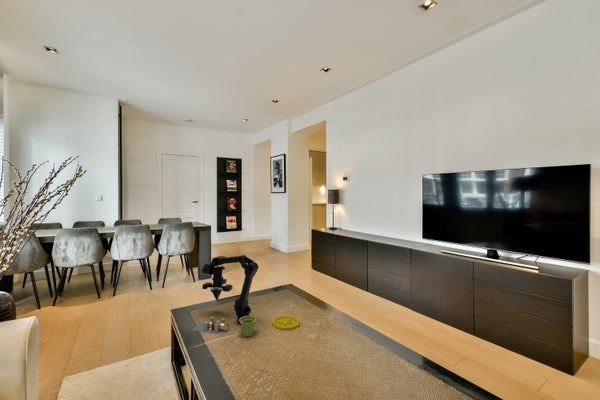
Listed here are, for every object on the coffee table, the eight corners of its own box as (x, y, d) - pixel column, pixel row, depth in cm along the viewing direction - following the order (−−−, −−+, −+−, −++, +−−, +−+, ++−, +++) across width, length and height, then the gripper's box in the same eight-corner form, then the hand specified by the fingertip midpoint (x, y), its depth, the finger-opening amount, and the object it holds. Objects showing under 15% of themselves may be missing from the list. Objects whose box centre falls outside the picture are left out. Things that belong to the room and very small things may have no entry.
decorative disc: (300, 319, 175) (300, 316, 175) (297, 332, 157) (297, 329, 157) (275, 317, 177) (275, 314, 177) (269, 330, 159) (269, 326, 159)
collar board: (231, 328, 160) (231, 318, 160) (223, 336, 150) (223, 326, 150) (201, 323, 164) (201, 314, 164) (191, 331, 155) (192, 322, 155)
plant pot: (235, 335, 152) (235, 320, 151) (246, 328, 160) (246, 314, 160) (248, 340, 147) (248, 324, 147) (258, 332, 155) (259, 318, 155)
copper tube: (229, 327, 157) (229, 321, 156) (226, 332, 153) (225, 326, 152) (211, 325, 159) (210, 319, 159) (207, 329, 156) (206, 323, 155)
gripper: (236, 273, 178) (236, 297, 178) (211, 271, 182) (210, 294, 182) (228, 278, 167) (228, 303, 167) (201, 276, 171) (201, 300, 171)
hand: (217, 300), depth 172 cm, fingers closed
